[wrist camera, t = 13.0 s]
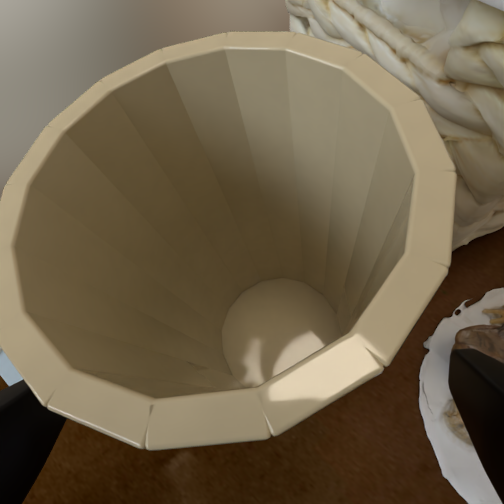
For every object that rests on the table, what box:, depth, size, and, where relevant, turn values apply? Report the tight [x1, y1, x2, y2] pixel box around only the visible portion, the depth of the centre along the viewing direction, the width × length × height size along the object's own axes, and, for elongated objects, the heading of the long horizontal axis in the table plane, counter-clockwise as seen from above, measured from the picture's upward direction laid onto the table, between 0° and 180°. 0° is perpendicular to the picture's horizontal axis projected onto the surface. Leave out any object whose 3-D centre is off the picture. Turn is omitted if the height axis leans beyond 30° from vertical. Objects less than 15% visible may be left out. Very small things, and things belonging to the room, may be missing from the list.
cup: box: [0, 31, 457, 451], centre depth 10 cm, size 7×7×13 cm
